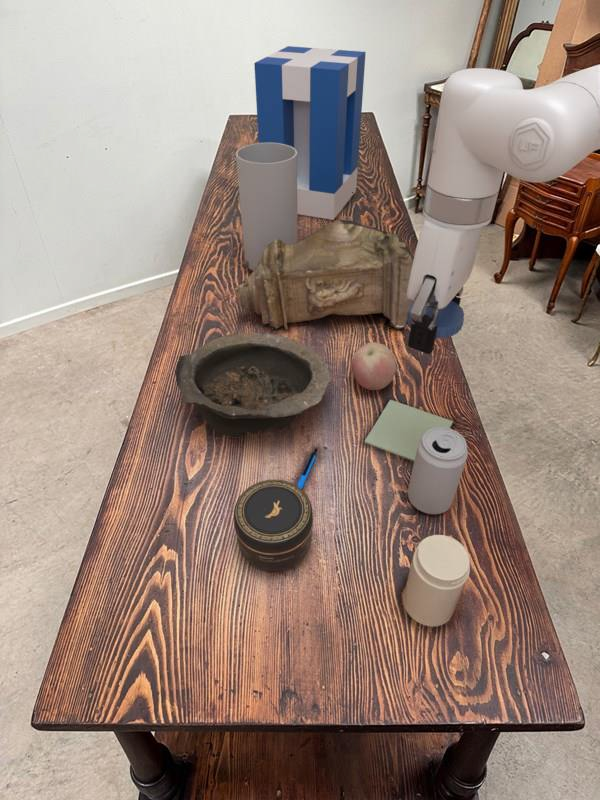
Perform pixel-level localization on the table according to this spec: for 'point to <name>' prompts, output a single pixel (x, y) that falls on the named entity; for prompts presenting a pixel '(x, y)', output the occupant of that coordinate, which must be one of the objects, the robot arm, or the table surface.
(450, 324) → the jar lid
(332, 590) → the table surface
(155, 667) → the table surface
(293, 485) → the jar
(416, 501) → the beverage can
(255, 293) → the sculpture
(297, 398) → the stone bowl
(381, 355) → the apple
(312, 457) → the pen
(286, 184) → the cylinder vase
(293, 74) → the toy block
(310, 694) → the table surface
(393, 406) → the coaster
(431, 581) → the jam jar
